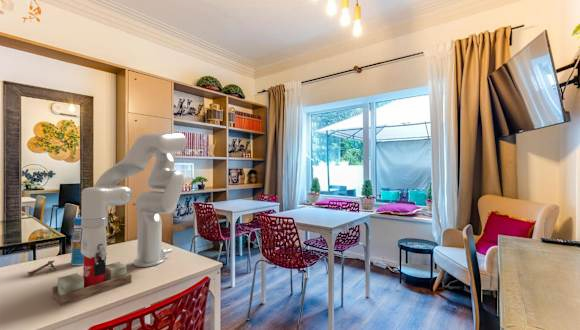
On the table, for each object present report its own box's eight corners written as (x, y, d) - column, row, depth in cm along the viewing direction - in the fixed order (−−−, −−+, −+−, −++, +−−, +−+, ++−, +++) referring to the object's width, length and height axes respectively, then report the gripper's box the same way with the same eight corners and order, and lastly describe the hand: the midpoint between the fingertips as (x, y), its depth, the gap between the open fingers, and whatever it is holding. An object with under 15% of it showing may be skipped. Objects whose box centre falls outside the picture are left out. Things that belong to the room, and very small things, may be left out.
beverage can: (91, 281, 95) (91, 248, 94) (109, 281, 95) (109, 248, 95) (78, 290, 88) (79, 254, 88) (98, 289, 89) (98, 254, 89)
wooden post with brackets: (59, 268, 106) (53, 259, 105) (33, 282, 101) (27, 272, 100) (58, 267, 107) (53, 258, 106) (34, 280, 102) (27, 271, 101)
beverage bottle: (67, 262, 114) (68, 217, 114) (91, 257, 121) (91, 214, 121) (73, 267, 109) (74, 220, 109) (97, 262, 116) (98, 217, 116)
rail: (119, 275, 103) (119, 260, 103) (131, 282, 97) (131, 266, 97) (52, 295, 86) (52, 277, 86) (61, 305, 80) (61, 286, 80)
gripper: (73, 220, 93) (72, 268, 93) (91, 228, 83) (90, 281, 83) (98, 217, 100) (97, 262, 100) (117, 224, 89) (116, 274, 90)
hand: (94, 271), depth 92 cm, fingers open, 9 cm apart
